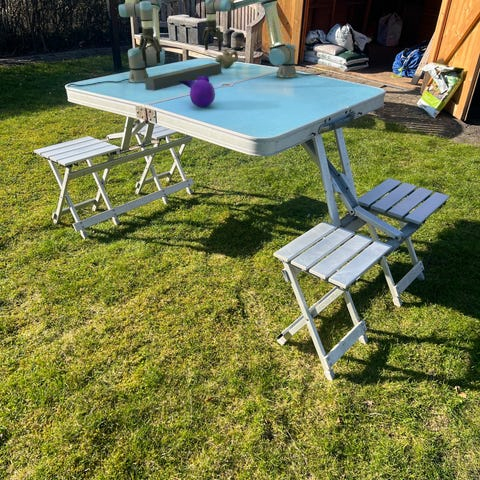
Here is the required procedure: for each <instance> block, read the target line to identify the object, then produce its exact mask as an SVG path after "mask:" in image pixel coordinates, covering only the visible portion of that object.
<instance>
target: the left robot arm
mask: <svg viewBox="0 0 480 480" xmlns="http://www.w3.org/2000/svg"><path fill="white" fill-rule="evenodd" d="M162 6H163V5H162V0H125V2H124V3H123V4H118V12H119V16H120V17H121V18H135V17H136V18H138V17H139V18H140V23H141V28H142V29H141V30H142V34H141V35H140V41H139V45H138V47H132V48H130V49H128V50H127V56H128V57H127V58H128V64H129V65H128V66H129V76H128V78H125V79H122V80H116V81H115V80H106V81H105V80H104V81H98V82H94V83H87V84H76V83H69V84H70V85H69V84H68V85H67V87H70V86H75V87H86V86H92V85H96V84H103V83H122V82H125V81H128V82H129V83H133V84H141V83H145V78H147V77H150V75H149V73H148V71H147V67H159V66H163V65H165V61H166V60H165V59H166V51H165V50H166V49H165V48H163V45H162V44H161V35H160V23H159V22H160V21H159V12H160V10H161V8H162ZM72 131H73V134H75V133H76V132H75V129H73V130H72Z"/></svg>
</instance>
